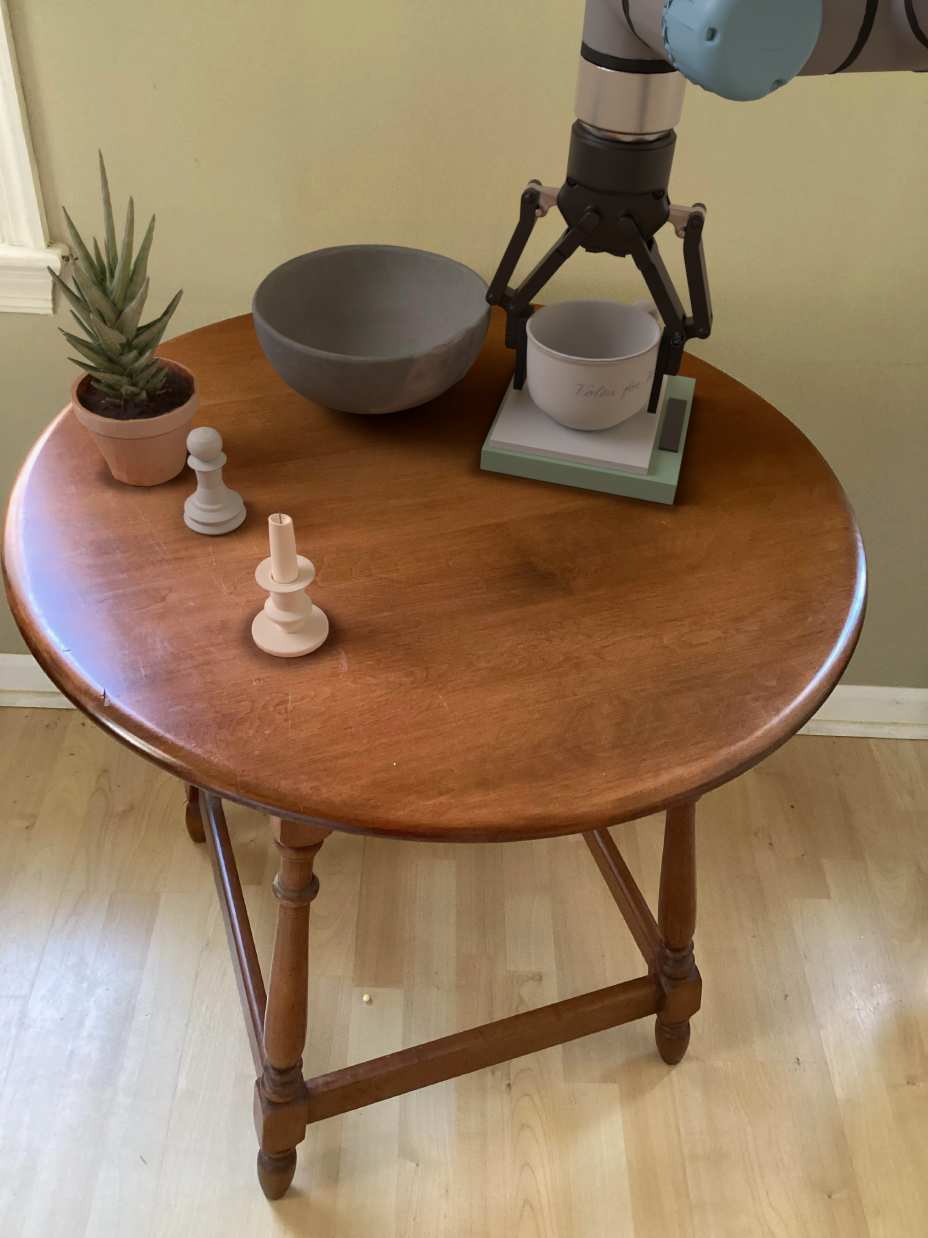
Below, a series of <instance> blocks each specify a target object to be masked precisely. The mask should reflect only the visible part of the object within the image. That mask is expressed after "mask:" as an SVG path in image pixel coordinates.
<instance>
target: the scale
mask: <svg viewBox="0 0 928 1238" xmlns="http://www.w3.org/2000/svg"><path fill="white" fill-rule="evenodd" d="M696 380H697V379H696V378H694V377H688V376H683V375H682V376H681V375H676V376H670V375H664V377H663V382H662V387H661V392H660V397H659V401H658V406H657V410H656V414H652V413H647V409H648V404H649V398H650V395H649V397H648V399H647V401H646V403H645V404H644V405H643V407H642V408H641V409H640V410H639V411H638V412H637V413H635V414H634V415H633V416H631V417H629V418H627V419H626V420H623V421H622V422H620V423H619V424H617V425H615V426H612V427H609V428H605V429H600V430H579V429H574V428H570V427H567V426H565V425H562V424H560V423H558V422H557V421H555V420H554V419H552V418H551V417H550V416H549V415H547V414H546V413H545V412H543V411H542V410H541V409H540V408H539V407H538V406H537V405H536V404H535V402H534V401H533V399H532V397H531V395H530V392H529V388H528V382H527V378H526V381H525V383H524V386H523V388H522V391H521V390H515V389H513V382H514V374H512V378H511V380H510V383H509V385H508V387H507V389H506V391H505V395H504V396H503V398H502V401H501V404H500V406H499V408H498V410H497V413H496V416H495V417H494V420H493V422H492V424H491V427H490V429H489V431H488V434H487V436H486V438H485V440H484V443H483V446H482V447H481V455H480V470H484V471H488V472H495V473H500V474H504V475H510V476H515V477H521V478H525V479H531V480H535V481H541V482H547V483H553V484H557V485H563V486H569V487H572V488H573V487H574V488H579V489H585V490H590V491H597V492H600V493H606V494H611V495H617V496H620V497H621V496H623V497H628V498H632V499H638V500H642V501H649V502H652V503H653V502H654V503H659V504H664V505H670V506H673V505H674V504H673V503H674V499H675V495H676V490H677V488H678V487H677V486H678V482H679V475H680V471H681V470H680V469H681V464H682V458H683V455H684V454H683V452H684V447H685V442H686V437H687V431H688V426H689V420H690V415H691V409H692V405H693V404H692V403H693V397H694V393H695V386H696V382H697V381H696ZM650 393H651V391H650Z"/></svg>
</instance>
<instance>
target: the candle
mask: <svg viewBox="0 0 928 1238" xmlns="http://www.w3.org/2000/svg"><path fill="white" fill-rule="evenodd" d="M267 520H268V536H269V537H268V539H269V548H270V549H269V550H270V556H268V557H267V558H264V560H262V561H261V562H260V563H259V564H258V565H257V567H256V569H255V574H254V578H255V581H256V583H257V584H258V585H259V587H261V588H263V589H264V590H266V591H267V592H269V594H270V595H269V597H267V599H266V600H265V602H264V607H263V609H262V610H261V611H259V613H257V615H256V616H255V617H254V619H253V622H252V625H251V634H252V635H251V636H252V638H253V642H254V643H255V645H256V646H257V647H258V648H259V649H261V650H262V651H263V652H265V653H267V654H270V655H272V656H275V657H280V658H297V657H302V656H305V655H307V654H309V653H312V652H314V651H315V650H316V649H318V648H320V647H321V646H322V644H324V642H325V641H326V640H327V638H328V635H329V620H328V617H327V615H326V614H325V612H324V611H323V610H322V609H321V608H319V607H318V606H317V605H315V604H313V601H312V599H311V597H310V596H309V595H308V594H306V593H305V588H307V587H308V586H309V585H310V584H311V583H312V582H313V581H314V578H315V575H316V569H315V566H314V563H312V562H311V560H310V559H308V558H307V557H305V556H303V555H300V554H298V553H297V545H296V536H295V530H294V523H293V519H292V517H291V516H290V515H288V514H285V513H281V511H278V513H273V514H271V515H269V517H268V519H267Z"/></svg>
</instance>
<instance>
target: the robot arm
mask: <svg viewBox="0 0 928 1238" xmlns="http://www.w3.org/2000/svg"><path fill="white" fill-rule="evenodd" d="M577 64H578V65H577V73H576V82H575V91H574V100H573V103H574V104H573V111H572V112H573V113H574V116H576V118H577V119H576V120H575V121H574V122H573V123H572V124H571V129H570V136H569V137H570V138H569V147H568V155H567V163H566V164H567V165H566V174H565V180H564V182H563V184H562V185H561V187H553V186H545V185H543V183H542V181H540V179H536V178H533V179H531V180H529V181H528V183H527V184H526V186H525V188H524V190H523V192H522V193H521V196H520V202H519V203H520V204H519V219H518V222H517V224H516V226H515V228H514V231H513V233H512V235H511V238H510V240H509V242H508V245H507V247H506V248H505V251H504V253H503V256H502V258H501V260H500V262H499V264H498V267H497V269H496V272H495V274H494V275H493V279H492V281H491V282H490V285H489V289H488V291H487V294H486V296H485V299H486V302H487V303H488V304H489V305H492V307H494V306H497V307H499V308H501V309H503V310H504V312H505V315H506V321H505V333H504V345H505V348H506V349H509V350H515V360H514V372H513V375H514V382H513V389H515V390H521V391H522V388H523V386H524V383H525V381H526V378H527V342H528V336H527V332H526V325H527V321H528V319H529V318H530V316H531V315H532V314H533V313H534V312H535V307H536V305H533V304H530V303H531V302H532V300H533V299H534V298H535V297H536V296H537V295H538V293H539V292H540V291H541V290H542V289H543V288H544V287H545V285H546V284H547V283H548V282H549V281H550V279H551V278H552V277H553V276H554V275H555V273H557V272H558V270H559V269H560V268H561V267H562V265H563V264H564V263H565V262H566V261H567V260H568V259H570V258H571V257H572V256H573V254H575V252H576V251H577V249H579V247H581V248H582V249H584V252H585V253H591V254H602V253H607V254H609V255H611V256H613V257H617V258H623V259H625V258H626V256H631V258H632V260H633V262H634V265H635V267H636V269H637V270H638V271H640V273H641V275H642V278H643V279H644V282H645V284H646V286H647V289H648V291H649V293H650V295H651V297H652V299H653V302H654V303H655V304H656V306H657V308H658V311H659V316H660V317H661V319H662V322H663V324H664V327H663V329H662V337H661V340H660V342H659V346H658V353H657V361H656V367H655V373H654V379H653V384H652V388H651V393H650V398H649V404H648V409H647V413H652V414H656V410H657V406H658V401H659V397H660V392H661V387H662V382H663V377H664V375H670V376H678V374H679V372H680V369H681V364H682V358H683V354H684V350H685V345H686V343H688V341H689V340H691V339H696V338H697V339H699V340H707V339H708V338H710V336H711V335H712V328H713V323H714V315H713V314H714V313H713V306H712V305H713V304H712V299H711V291H710V283H709V278H708V270H707V262H706V255H705V247H704V242H703V235H702V234H703V230H704V225H705V221H706V216H707V212H708V211H707V206H706V204H704V203H702V202H695V203H694V204H692V205H691V206H687V205H679V204H675V203H672V202H671V200H670V197H669V183H670V178H671V173H672V166H673V161H674V156H675V150H676V144H677V139H678V136H677V133H676V131H675V129H674V127H677V125H679V123H680V120H681V116H682V111H683V104H684V99H685V94H686V88H687V83H688V82H689V83H691V84H692V85H694V86H699V87H700V88H701V89H702V90H703V91H705V92H709V93H712V94H715V95H716V96H718V97H720V98H723V99H724V100H728V101H732V102H739V103H741V102H742V103H745V102H753V101H758V100H762V99H763V98H765V97H766V96H768V95H770V94H772V93H774V92H775V91H777V90H778V89H779V88H782V87H784V86H786V85H787V84H789V83H790V82H791V81H792V80H793V79H794V78H795V77H814V76H824V75H836V74H855V73H882V72H883V73H884V72H885V73H887V72H889V73H890V72H911V73H912V72H913V73H916V74H918V73H919V74H921V73H923V74H925V73H926V74H927V73H928V0H585V5H584V15H583V26H582V35H581V46H580V50H579V54H578V63H577ZM555 206H556V207H557V209H558V211H559V212H560V214H561V217H562V218H563V220H564V222H565V224H566V225H567V227H566V228H565V229H564V231H563V232H562V234H561V235H560V237H559V238H557V240H556V241H555V242H554V243H553V245H552V246H551V247H550V248H549V250H548V251H547V252H546V253H545V254H544V256H542V258H541V259H540V260H539V261H538V263H537V264H536V265H535V266H534V267H533V269H531V271H530V272H529V273H528V274H527V276H526V277H525V278H524V279H523V281H522V282H521V283H519V285H518V287H515V288H512V287H511V286H510V285H508V284H509V282H510V281H511V279H512V276H513V274H514V272H515V270H516V267H517V265H518V263H519V260H520V259H521V256H522V255H523V252H524V250H525V248H526V246H527V244H528V241H529V239H530V237H531V235H532V233H533V231H534V228H535V226H536V224H537V222H538V220H539V218H540V219H542V218H544V217H546V216H547V215H548V213H549V211H550V208H552V207H555ZM667 223H670V224H671V225H672V226H673V228H674V234H675V236H676V238H679V239H681V240H683V242H682V255H683V262H684V268H685V275H686V282H687V289H688V295H689V302H690V308H691V309H690V310H691V314H692V315H691V316H688V315H687V313H686V311H685V308H684V306H683V304H682V301H681V299H680V296H679V295H678V292H677V290H676V288H675V286H674V283H673V281H672V278H671V277H670V274H669V271H668V269H667V267H666V265H665V262H664V260H663V258H662V256H661V253H660V251H659V245H658V243H657V240H656V238H655V236H654V235H655V234H657V232H658V231H659V230H661V229H662V228H663V227H664V226H665V225H666V224H667Z"/></svg>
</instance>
